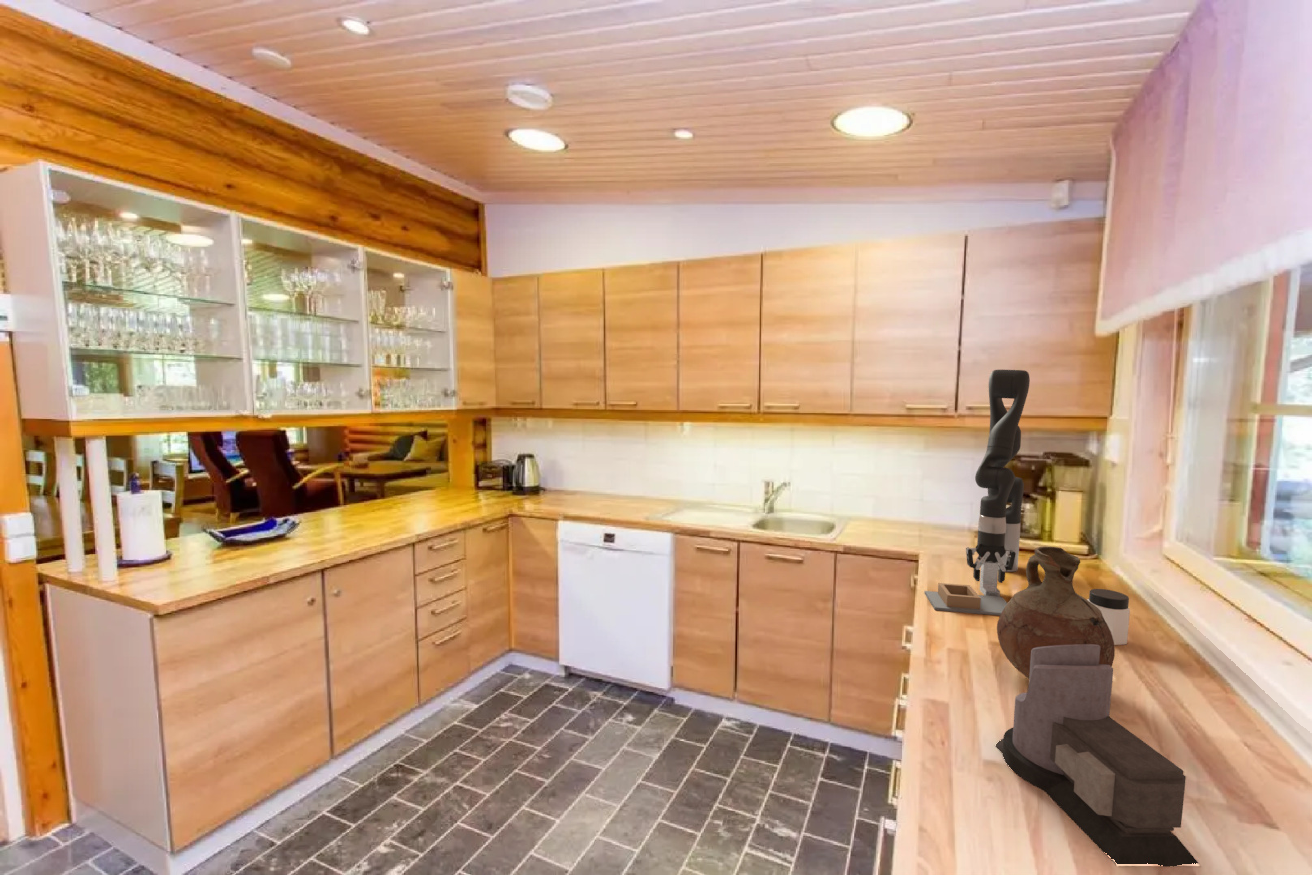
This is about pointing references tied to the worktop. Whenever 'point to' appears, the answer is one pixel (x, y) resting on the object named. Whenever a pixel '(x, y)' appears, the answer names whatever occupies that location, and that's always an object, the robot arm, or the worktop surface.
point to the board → (964, 600)
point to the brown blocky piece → (1095, 759)
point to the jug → (1051, 612)
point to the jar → (1113, 612)
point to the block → (989, 579)
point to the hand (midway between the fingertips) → (988, 581)
